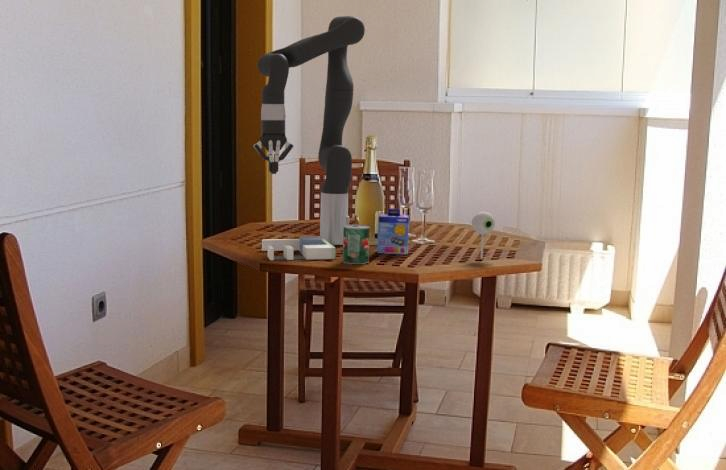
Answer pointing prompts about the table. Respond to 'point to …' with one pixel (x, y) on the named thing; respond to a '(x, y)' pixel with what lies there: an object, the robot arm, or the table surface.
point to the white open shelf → (294, 244)
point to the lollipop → (483, 225)
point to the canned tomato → (356, 244)
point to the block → (309, 242)
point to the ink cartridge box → (393, 233)
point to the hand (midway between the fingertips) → (273, 173)
